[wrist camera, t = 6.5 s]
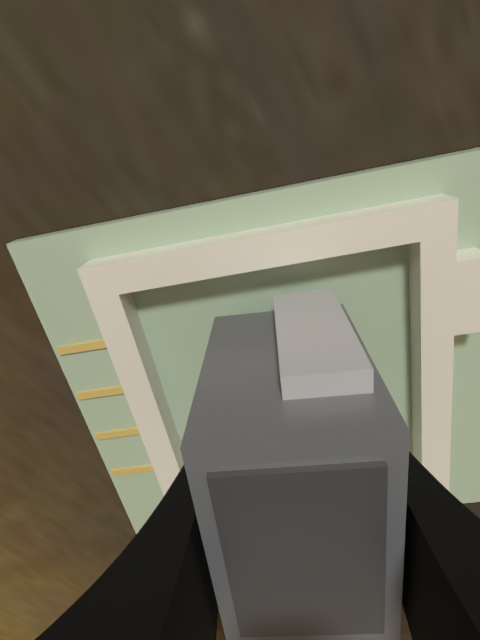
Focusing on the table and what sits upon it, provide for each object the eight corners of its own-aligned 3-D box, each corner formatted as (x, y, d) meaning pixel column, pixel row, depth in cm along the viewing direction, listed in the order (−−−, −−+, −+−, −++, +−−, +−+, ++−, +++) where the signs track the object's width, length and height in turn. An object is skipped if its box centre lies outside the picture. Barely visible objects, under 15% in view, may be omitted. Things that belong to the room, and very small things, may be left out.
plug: (239, 462, 15) (226, 653, 9) (212, 300, 12) (172, 428, 7) (347, 455, 15) (401, 649, 9) (342, 286, 12) (414, 410, 6)
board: (140, 523, 19) (130, 556, 18) (16, 239, 13) (-14, 252, 12) (492, 488, 17) (513, 520, 16) (525, 137, 11) (564, 138, 10)
